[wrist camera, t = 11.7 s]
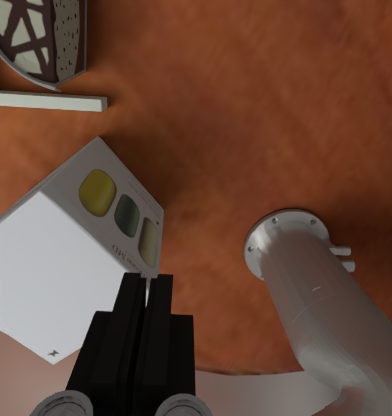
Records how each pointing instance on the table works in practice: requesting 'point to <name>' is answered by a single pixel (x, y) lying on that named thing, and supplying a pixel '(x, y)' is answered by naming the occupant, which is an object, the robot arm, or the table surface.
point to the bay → (52, 101)
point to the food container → (44, 39)
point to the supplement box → (74, 249)
